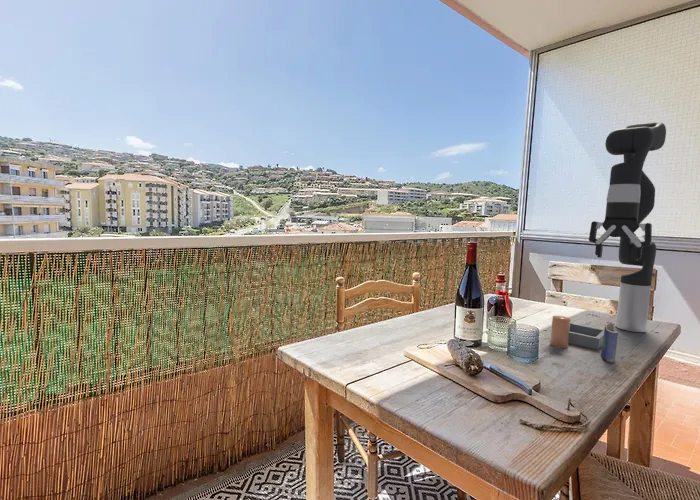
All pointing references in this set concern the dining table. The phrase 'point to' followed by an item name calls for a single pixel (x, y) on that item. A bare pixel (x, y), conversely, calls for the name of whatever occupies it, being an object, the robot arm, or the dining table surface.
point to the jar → (560, 331)
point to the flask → (609, 343)
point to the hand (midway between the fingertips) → (617, 258)
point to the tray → (586, 336)
